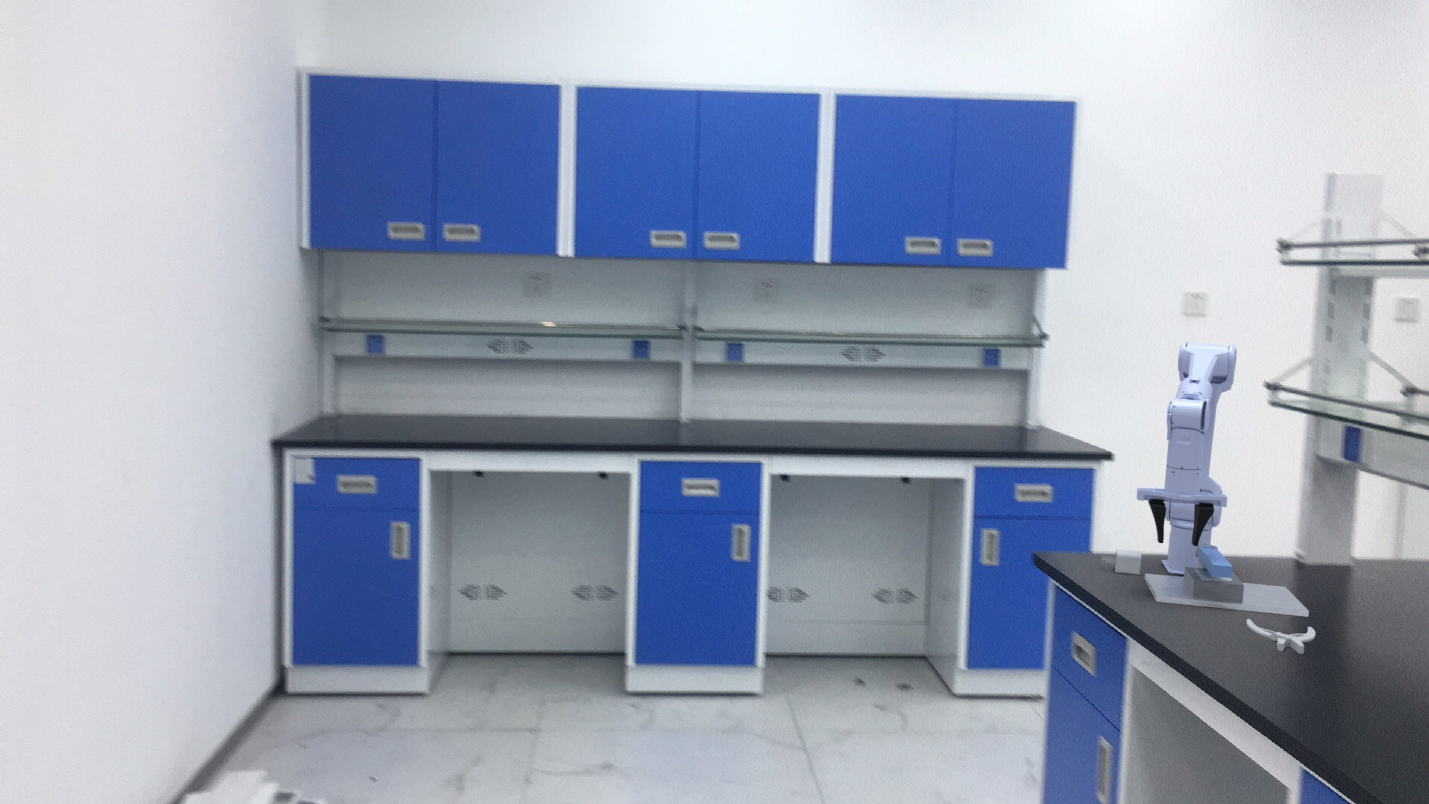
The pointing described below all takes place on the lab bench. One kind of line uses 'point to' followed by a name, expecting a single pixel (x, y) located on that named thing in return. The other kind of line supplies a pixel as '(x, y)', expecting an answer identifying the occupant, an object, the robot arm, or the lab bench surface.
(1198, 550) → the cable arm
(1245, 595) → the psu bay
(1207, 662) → the lab bench surface
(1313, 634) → the pliers
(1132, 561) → the usb wall charger
